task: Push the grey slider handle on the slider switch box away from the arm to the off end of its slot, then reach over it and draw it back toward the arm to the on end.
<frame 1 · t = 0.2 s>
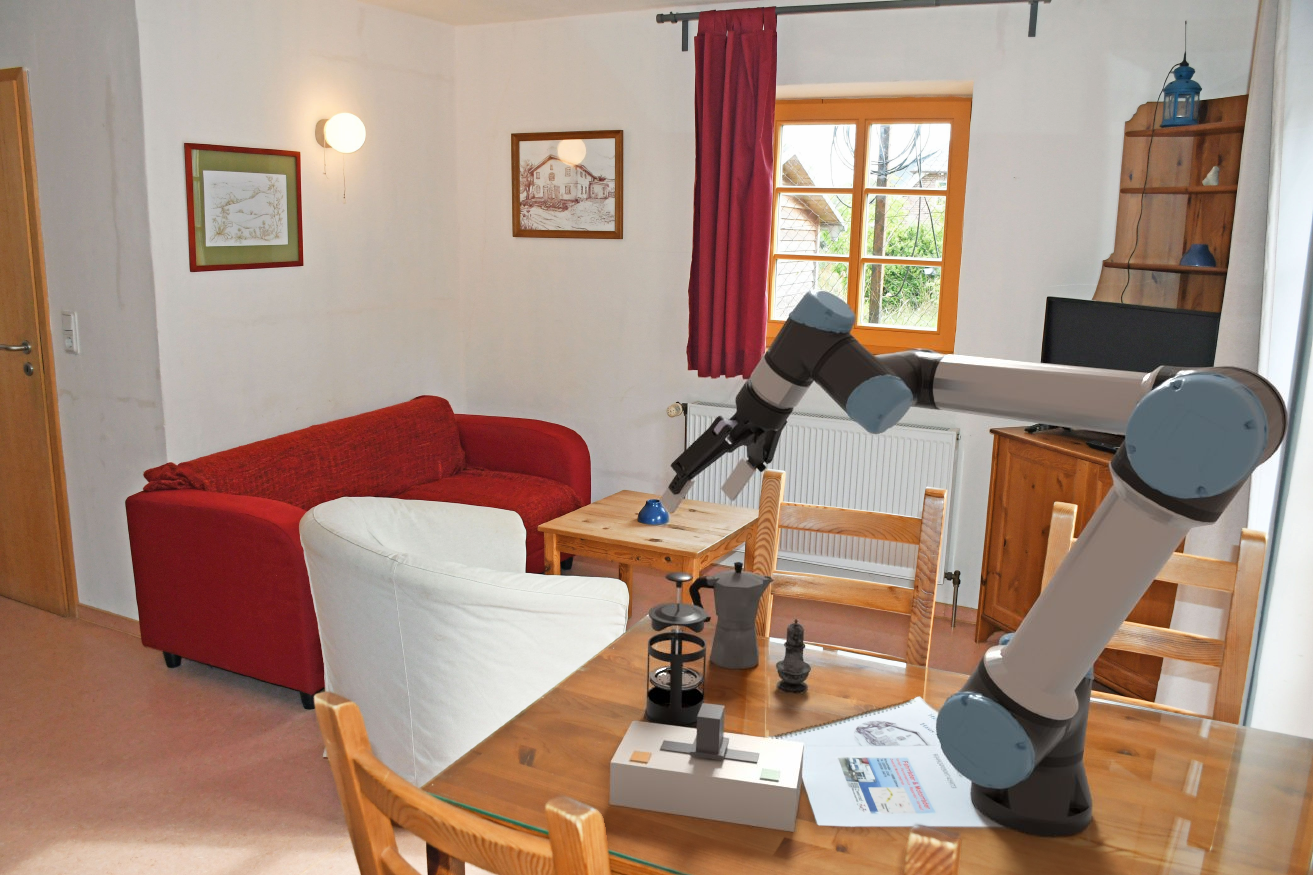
hand: (697, 500, 147), 35 cm above the table, tool tilted 35°, fingers open, 13 cm apart
slider switch box: (707, 793, 134), on the table
french press: (674, 714, 156), on the table
salt shaker: (792, 687, 167), on the table
coffeepot: (728, 660, 177), on the table
grey slider handle: (710, 729, 132), point 9 cm above the table, slide at 0.0 cm
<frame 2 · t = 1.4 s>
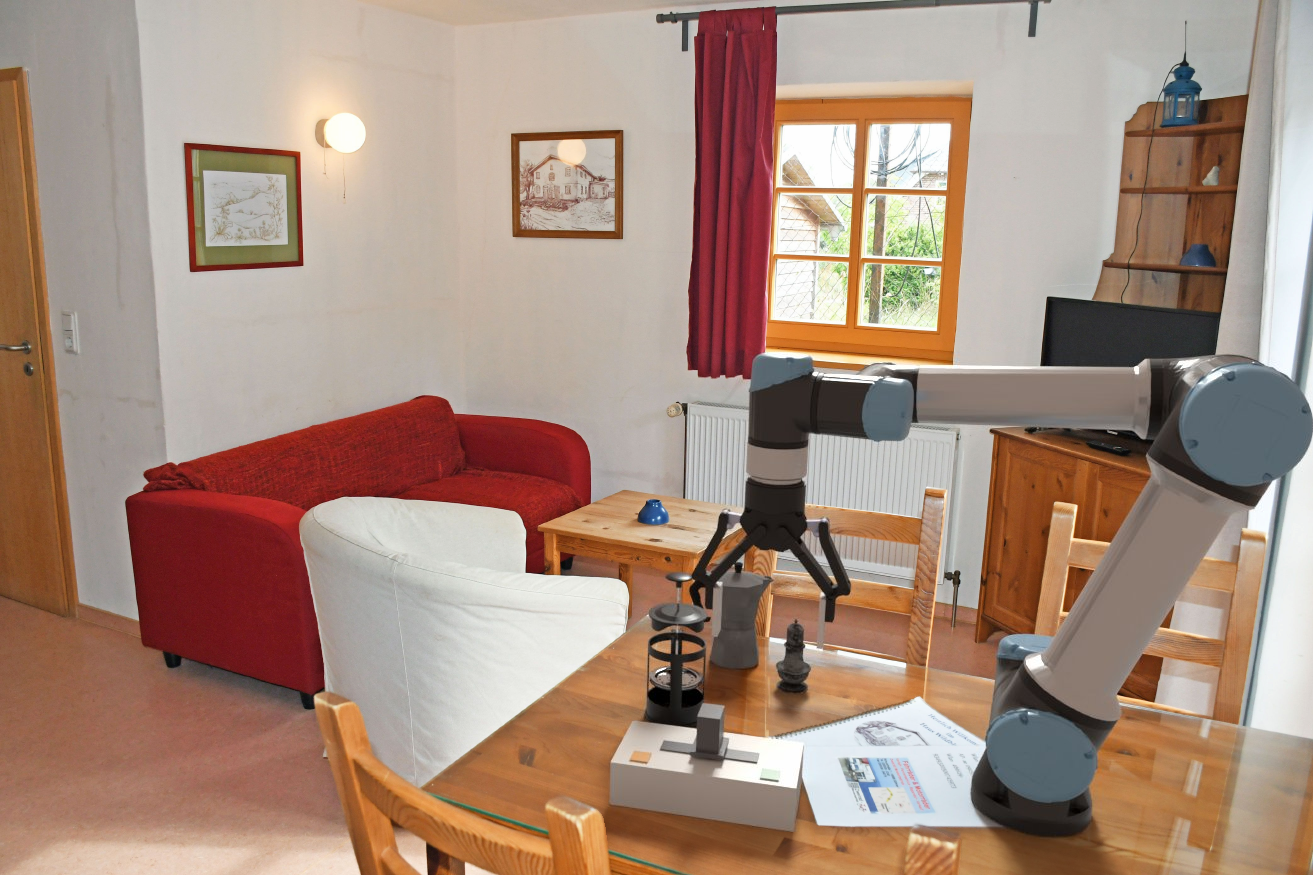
hand: (767, 638, 128), 23 cm above the table, tool pointing down, fingers open, 13 cm apart
nothing on the table moved.
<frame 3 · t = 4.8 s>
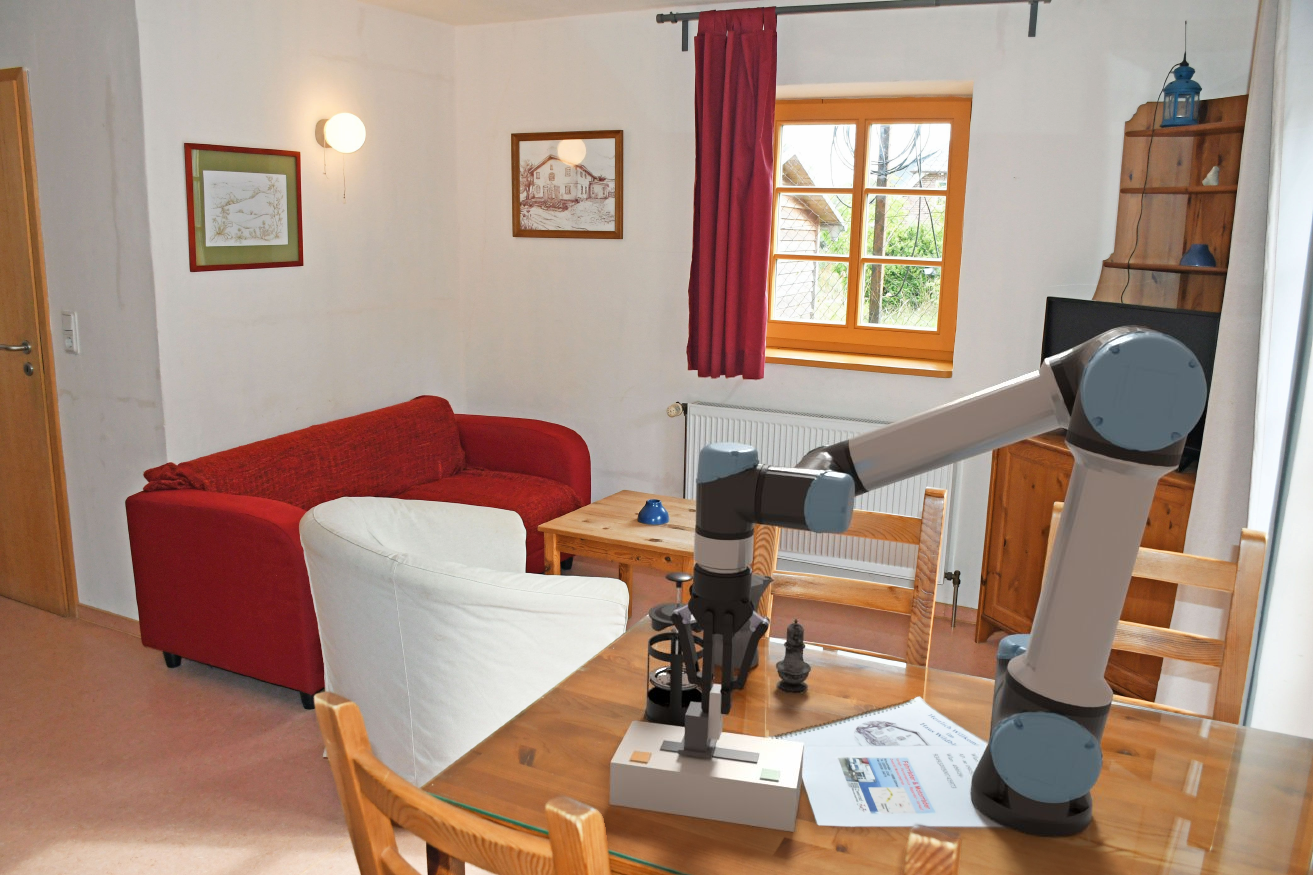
hand: (714, 734, 132), 9 cm above the table, tool pointing down, fingers closed
grey slider handle: (698, 728, 132), point 9 cm above the table, slide at 1.6 cm, touching gripper
everything else where it was.
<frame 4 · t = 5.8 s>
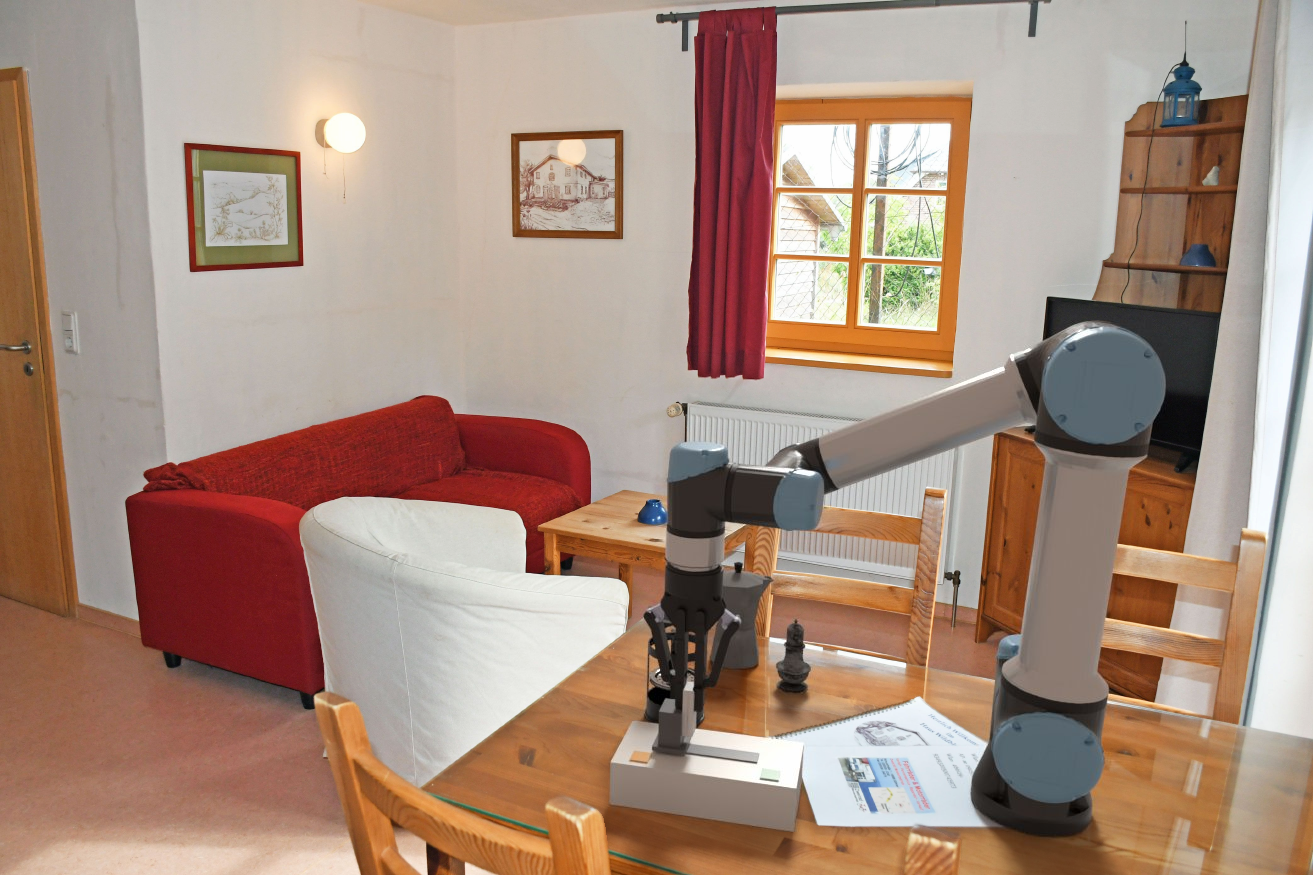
hand: (688, 731, 133), 9 cm above the table, tool pointing down, fingers closed
grey slider handle: (672, 724, 133), point 9 cm above the table, slide at 5.1 cm, touching gripper
everything else where it was.
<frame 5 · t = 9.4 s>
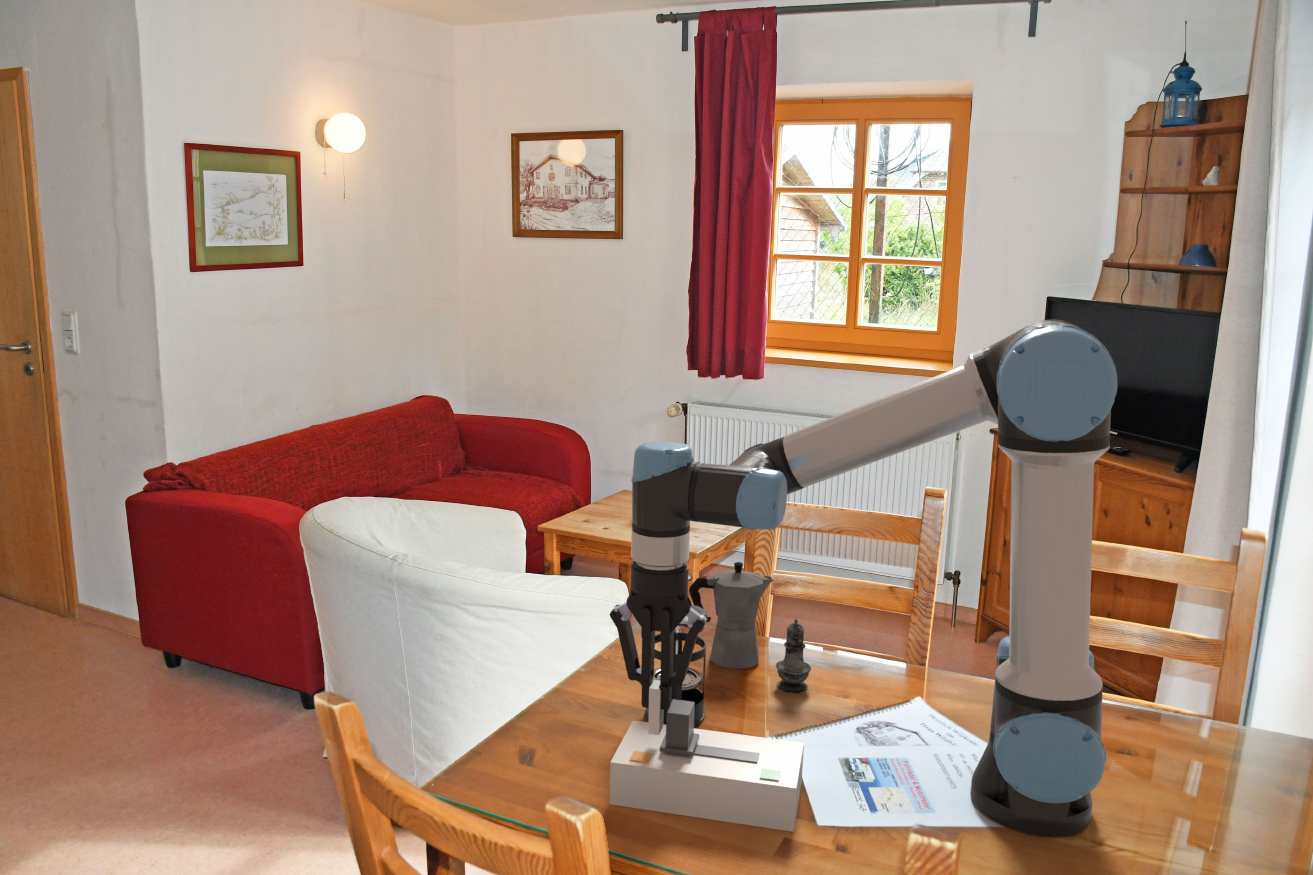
hand: (655, 729, 134), 8 cm above the table, tool pointing down, fingers closed
grey slider handle: (680, 725, 133), point 9 cm above the table, slide at 4.1 cm, touching gripper
everything else where it was.
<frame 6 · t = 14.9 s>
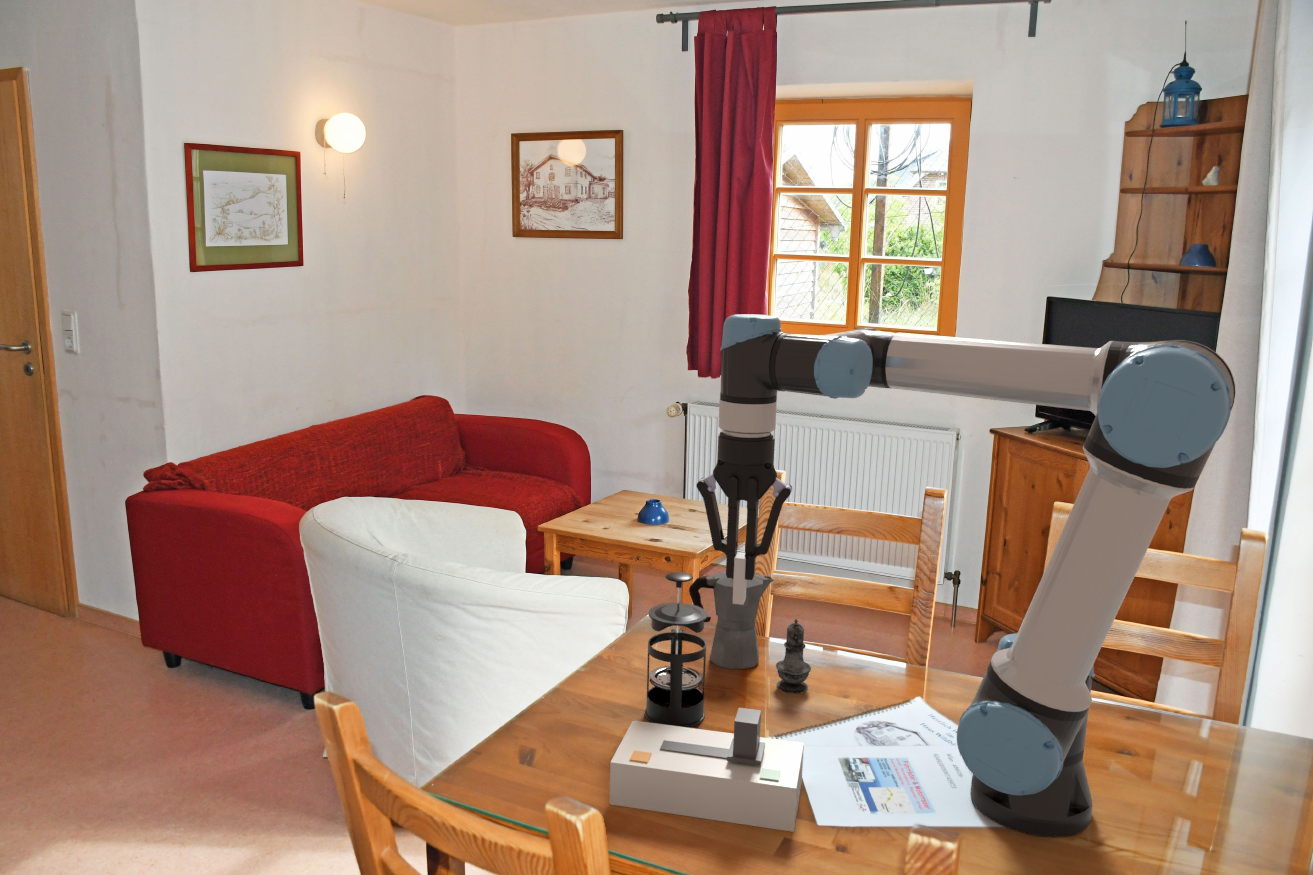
hand: (739, 600, 137), 24 cm above the table, tool pointing down, fingers closed
grey slider handle: (747, 734, 131), point 9 cm above the table, slide at -4.9 cm
everything else where it was.
at the end: grey slider handle slide at -4.9 cm; french press moved 0.2 cm from its start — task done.
